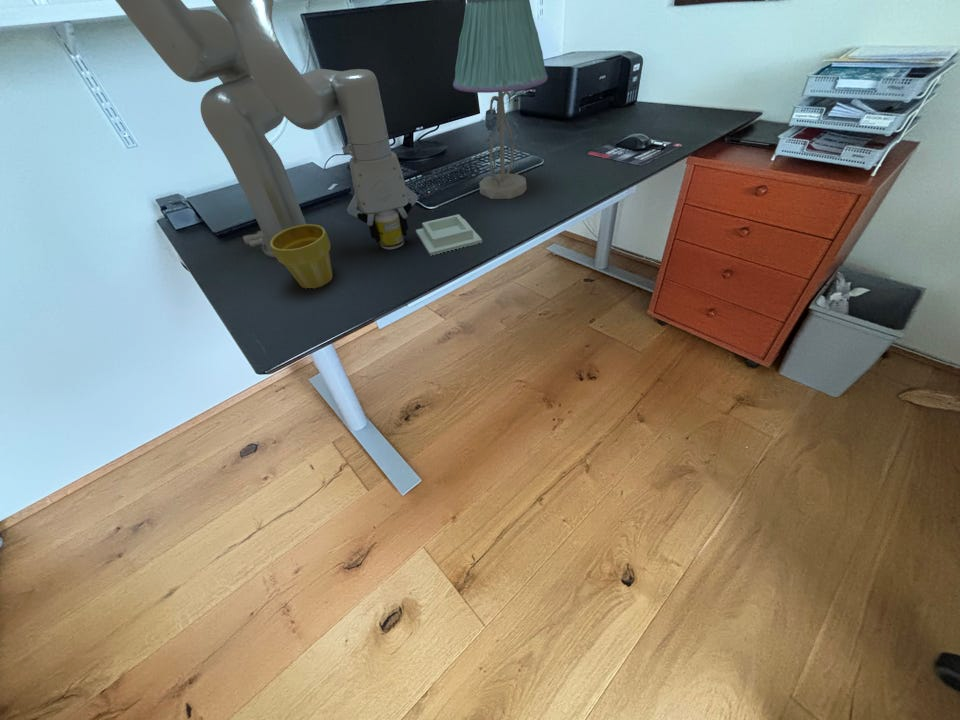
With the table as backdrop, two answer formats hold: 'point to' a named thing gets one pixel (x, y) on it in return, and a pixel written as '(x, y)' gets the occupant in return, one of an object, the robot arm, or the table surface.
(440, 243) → the socket holder
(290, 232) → the plant pot
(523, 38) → the table lamp
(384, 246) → the supplement bottle
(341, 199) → the table surface
